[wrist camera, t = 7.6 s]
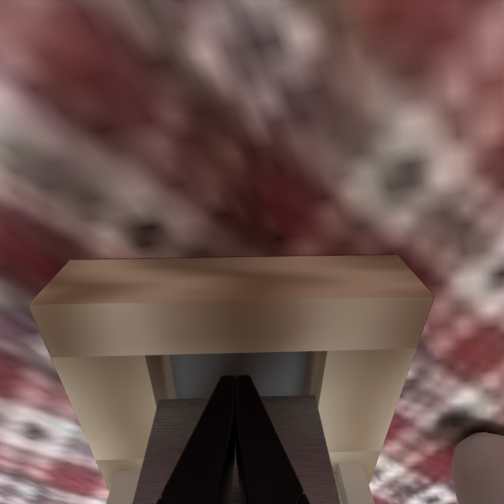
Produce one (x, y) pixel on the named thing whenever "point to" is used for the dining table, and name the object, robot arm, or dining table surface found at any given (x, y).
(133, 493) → the tunnel
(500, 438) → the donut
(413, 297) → the deck
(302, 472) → the carriage
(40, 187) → the dining table surface
